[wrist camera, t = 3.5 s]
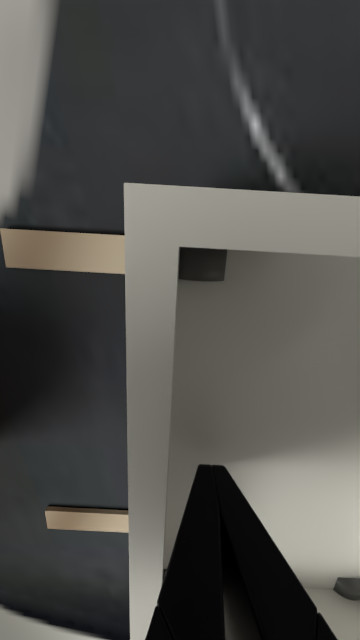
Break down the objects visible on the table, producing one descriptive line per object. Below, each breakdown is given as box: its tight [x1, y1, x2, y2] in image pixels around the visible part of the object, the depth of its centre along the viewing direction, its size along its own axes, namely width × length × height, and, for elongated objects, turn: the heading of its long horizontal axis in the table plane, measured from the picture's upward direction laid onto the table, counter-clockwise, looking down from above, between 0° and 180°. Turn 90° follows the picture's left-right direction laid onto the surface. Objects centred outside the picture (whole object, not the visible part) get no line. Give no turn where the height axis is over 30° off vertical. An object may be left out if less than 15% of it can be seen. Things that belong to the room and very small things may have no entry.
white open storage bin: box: [124, 183, 360, 640], centre depth 7 cm, size 10×15×4 cm, turn 177°
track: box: [0, 228, 129, 533], centre depth 10 cm, size 17×14×1 cm
